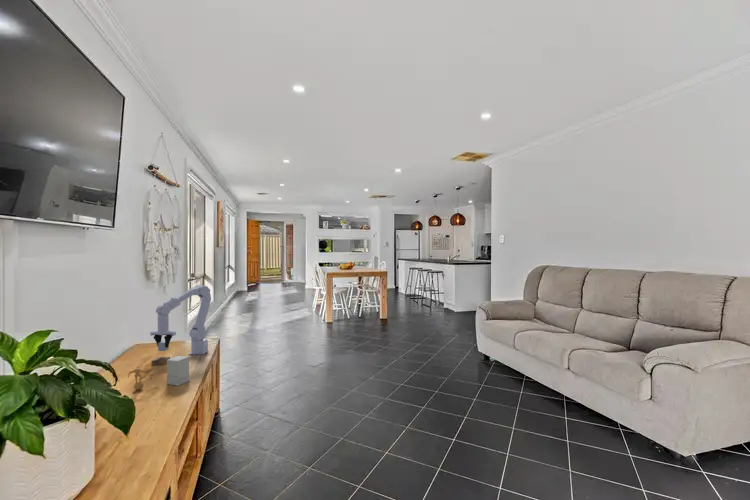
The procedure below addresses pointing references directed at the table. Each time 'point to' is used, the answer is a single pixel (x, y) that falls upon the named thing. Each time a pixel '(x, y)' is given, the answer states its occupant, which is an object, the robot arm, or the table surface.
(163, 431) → the table surface
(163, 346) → the blue block
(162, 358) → the walnut pedestal
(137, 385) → the figurine
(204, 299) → the robot arm
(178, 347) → the table surface
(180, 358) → the supplement box
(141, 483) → the table surface
